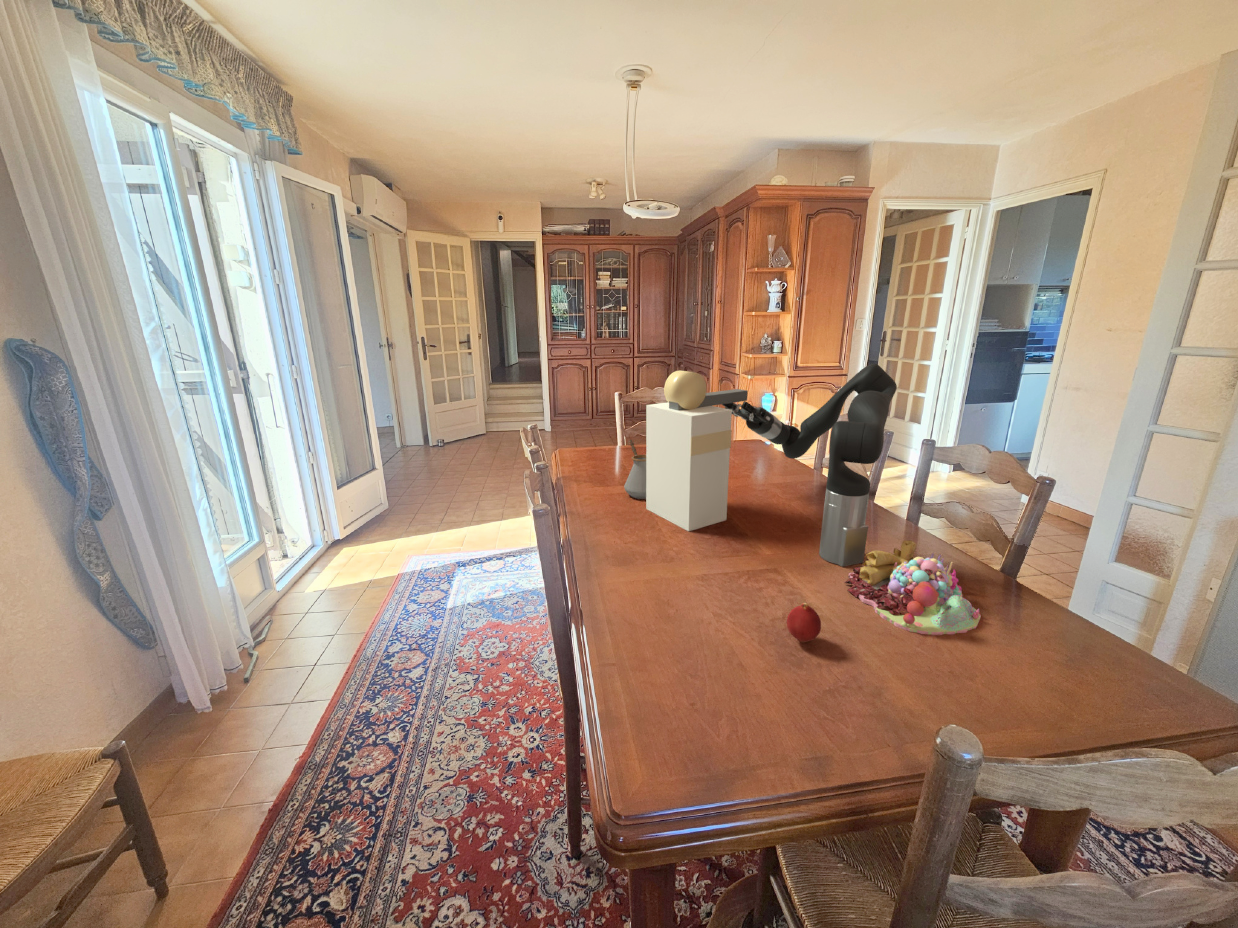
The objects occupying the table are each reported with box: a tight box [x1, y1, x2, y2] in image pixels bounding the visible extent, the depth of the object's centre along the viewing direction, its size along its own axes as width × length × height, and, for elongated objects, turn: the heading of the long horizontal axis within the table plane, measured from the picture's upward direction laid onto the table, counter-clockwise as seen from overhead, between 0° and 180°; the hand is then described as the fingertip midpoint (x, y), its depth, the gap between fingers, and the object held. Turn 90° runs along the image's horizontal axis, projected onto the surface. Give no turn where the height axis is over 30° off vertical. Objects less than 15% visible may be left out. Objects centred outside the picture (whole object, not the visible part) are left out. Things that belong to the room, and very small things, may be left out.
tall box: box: [645, 401, 733, 532], centre depth 146 cm, size 14×20×32 cm
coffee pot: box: [623, 439, 646, 500], centre depth 169 cm, size 21×12×15 cm, turn 12°
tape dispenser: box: [663, 370, 749, 411], centre depth 143 cm, size 27×6×10 cm, turn 122°
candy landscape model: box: [844, 540, 982, 636], centre depth 104 cm, size 25×24×9 cm
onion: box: [786, 602, 822, 644], centre depth 91 cm, size 6×6×8 cm
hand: (732, 402), depth 150 cm, fingers open, 8 cm apart
